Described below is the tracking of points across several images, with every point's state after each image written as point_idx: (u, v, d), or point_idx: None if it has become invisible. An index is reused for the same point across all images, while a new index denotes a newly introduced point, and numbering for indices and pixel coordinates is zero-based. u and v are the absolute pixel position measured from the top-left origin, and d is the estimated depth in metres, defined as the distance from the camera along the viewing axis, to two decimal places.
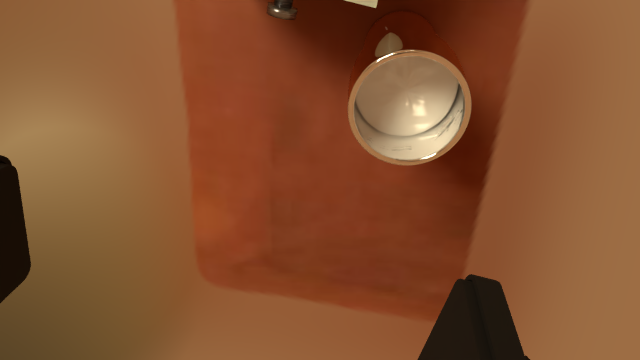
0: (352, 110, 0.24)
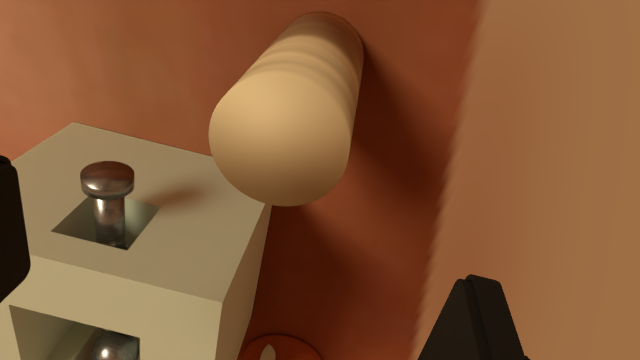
0: None
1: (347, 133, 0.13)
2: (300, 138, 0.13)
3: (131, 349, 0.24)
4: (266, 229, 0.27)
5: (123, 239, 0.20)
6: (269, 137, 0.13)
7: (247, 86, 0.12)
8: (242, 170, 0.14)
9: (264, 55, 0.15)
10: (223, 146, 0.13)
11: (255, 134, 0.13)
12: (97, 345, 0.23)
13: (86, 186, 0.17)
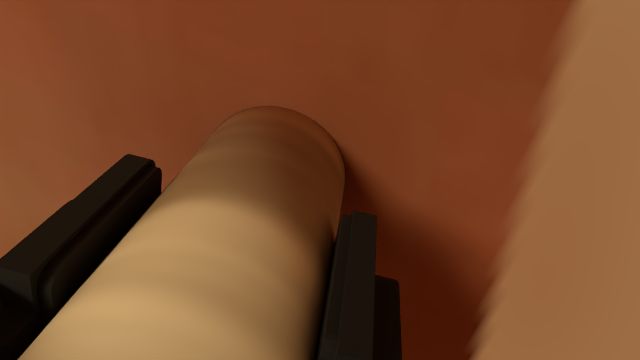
0: None
1: None
2: None
3: None
4: None
5: None
6: None
7: None
8: None
9: (98, 276, 0.07)
10: None
11: None
12: None
13: None
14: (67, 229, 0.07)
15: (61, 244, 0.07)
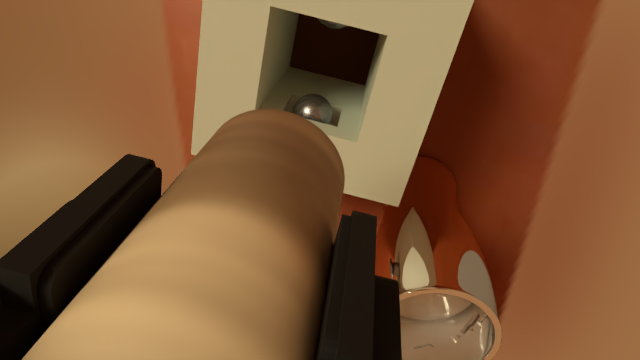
0: None
1: None
2: None
3: (330, 107, 0.26)
4: None
5: None
6: None
7: None
8: None
9: (97, 281, 0.07)
10: None
11: None
12: (301, 101, 0.25)
13: None
14: (67, 229, 0.07)
15: (61, 244, 0.07)
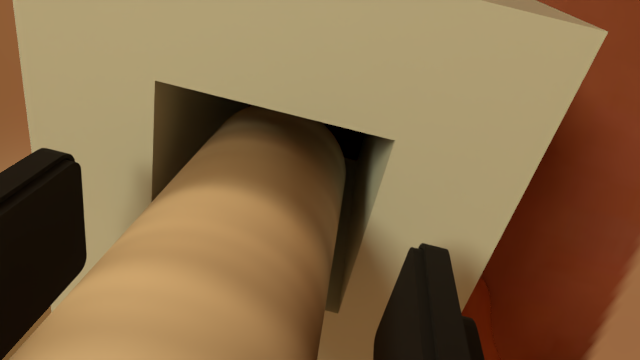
0: None
1: None
2: None
3: None
4: None
5: None
6: None
7: None
8: None
9: (112, 254, 0.07)
10: None
11: None
12: None
13: None
14: None
15: None
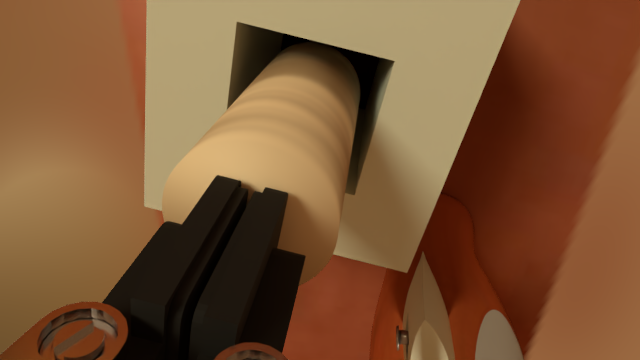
0: None
1: (336, 209, 0.10)
2: None
3: None
4: None
5: None
6: None
7: (207, 151, 0.10)
8: None
9: (237, 102, 0.12)
10: (180, 221, 0.11)
11: None
12: None
13: None
14: (185, 256, 0.07)
15: (184, 272, 0.07)
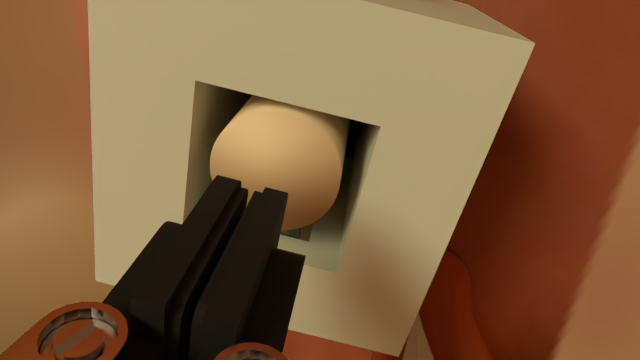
0: None
1: (338, 163, 0.14)
2: (295, 168, 0.14)
3: None
4: None
5: None
6: (266, 166, 0.14)
7: (246, 119, 0.13)
8: None
9: None
10: (223, 174, 0.14)
11: (253, 163, 0.14)
12: None
13: None
14: (185, 256, 0.07)
15: (185, 272, 0.07)
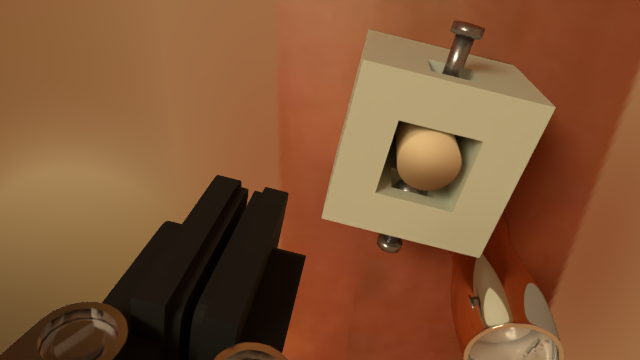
0: (467, 355, 0.31)
1: None
2: (439, 160, 0.30)
3: None
4: None
5: (459, 77, 0.30)
6: (425, 159, 0.30)
7: (420, 138, 0.29)
8: (409, 173, 0.30)
9: None
10: (403, 163, 0.30)
11: (419, 158, 0.30)
12: (401, 184, 0.34)
13: (465, 29, 0.27)
14: (185, 257, 0.07)
15: (185, 272, 0.07)
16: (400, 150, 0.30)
